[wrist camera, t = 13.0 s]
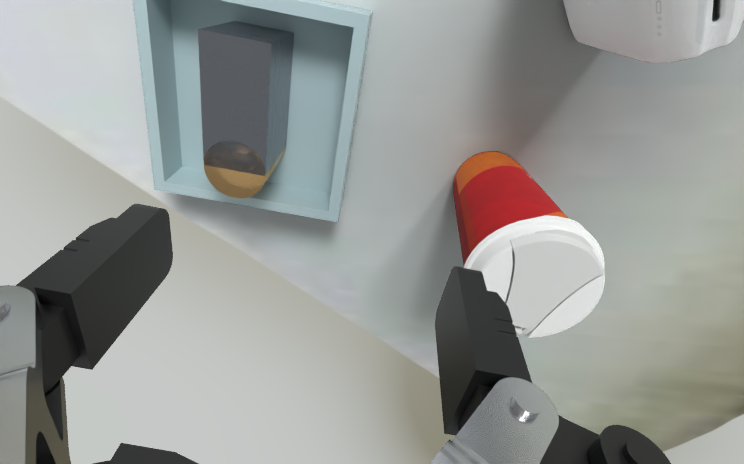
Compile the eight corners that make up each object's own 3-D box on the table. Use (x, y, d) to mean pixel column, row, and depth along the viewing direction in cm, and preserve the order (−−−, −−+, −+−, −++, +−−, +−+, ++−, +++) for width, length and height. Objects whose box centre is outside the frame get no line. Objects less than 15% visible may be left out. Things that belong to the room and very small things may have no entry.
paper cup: (508, 233, 36) (565, 357, 24) (426, 209, 35) (443, 326, 23) (554, 152, 32) (649, 252, 20) (462, 123, 31) (504, 210, 19)
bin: (162, -32, 27) (129, -35, 23) (372, 11, 27) (369, 15, 24) (178, 169, 34) (154, 189, 31) (342, 199, 35) (337, 222, 32)
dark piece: (234, 159, 32) (204, 192, 27) (234, 20, 27) (197, 29, 22) (284, 168, 33) (264, 203, 28) (294, 32, 27) (271, 43, 22)
